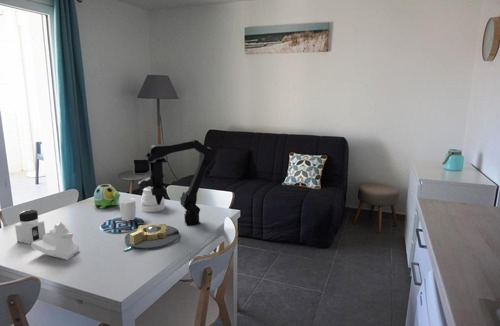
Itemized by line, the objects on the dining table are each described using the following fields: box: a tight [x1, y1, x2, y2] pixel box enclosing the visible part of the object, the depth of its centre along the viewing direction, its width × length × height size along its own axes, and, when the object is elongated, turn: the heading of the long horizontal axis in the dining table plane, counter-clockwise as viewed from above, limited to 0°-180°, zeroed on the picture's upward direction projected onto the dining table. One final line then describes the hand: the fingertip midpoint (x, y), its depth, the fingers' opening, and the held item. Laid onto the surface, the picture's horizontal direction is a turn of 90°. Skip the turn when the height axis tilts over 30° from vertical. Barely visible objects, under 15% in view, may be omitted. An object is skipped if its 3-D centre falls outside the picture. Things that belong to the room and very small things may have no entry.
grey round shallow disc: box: [123, 224, 180, 253], centre depth 145 cm, size 23×23×5 cm
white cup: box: [118, 197, 137, 221], centre depth 167 cm, size 8×8×10 cm
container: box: [14, 209, 46, 245], centre depth 143 cm, size 8×8×13 cm
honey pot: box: [140, 186, 166, 213], centre depth 184 cm, size 13×13×18 cm
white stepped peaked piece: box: [30, 222, 80, 261], centre depth 130 cm, size 12×15×14 cm
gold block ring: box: [130, 222, 167, 245], centre depth 144 cm, size 19×15×4 cm
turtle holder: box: [93, 183, 121, 210], centre depth 188 cm, size 12×18×12 cm
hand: (158, 204), depth 154 cm, fingers closed
